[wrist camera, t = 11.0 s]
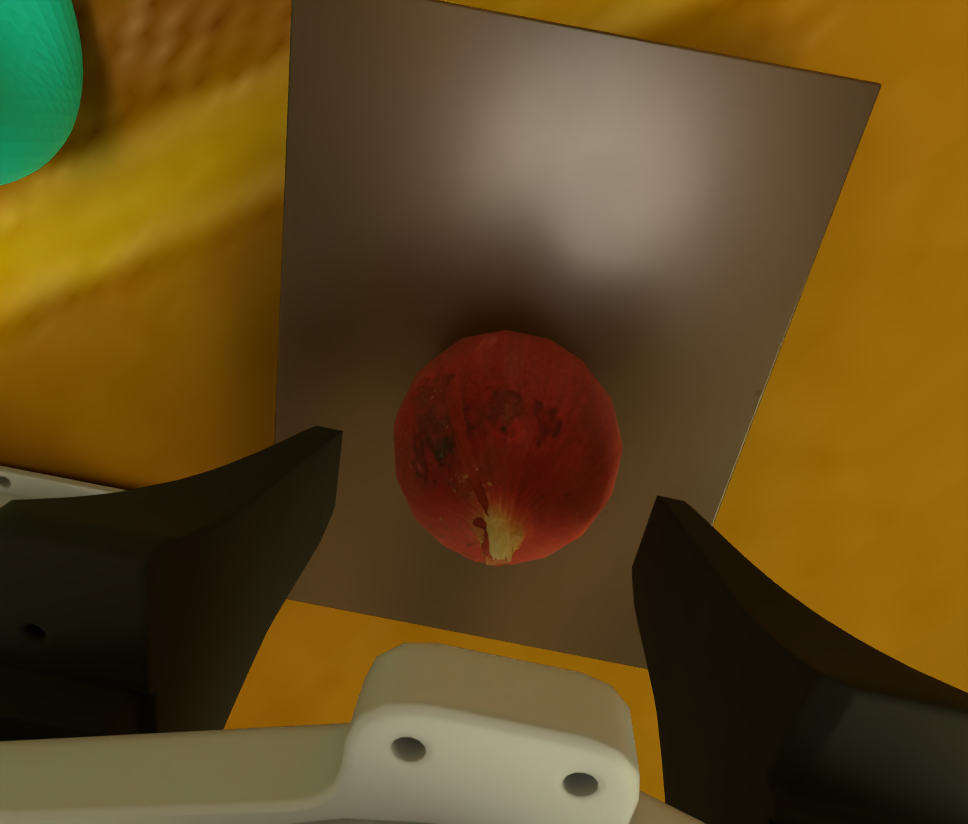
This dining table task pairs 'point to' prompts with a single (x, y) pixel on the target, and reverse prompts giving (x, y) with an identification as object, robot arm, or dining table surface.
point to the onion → (506, 447)
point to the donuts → (37, 82)
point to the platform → (538, 274)
